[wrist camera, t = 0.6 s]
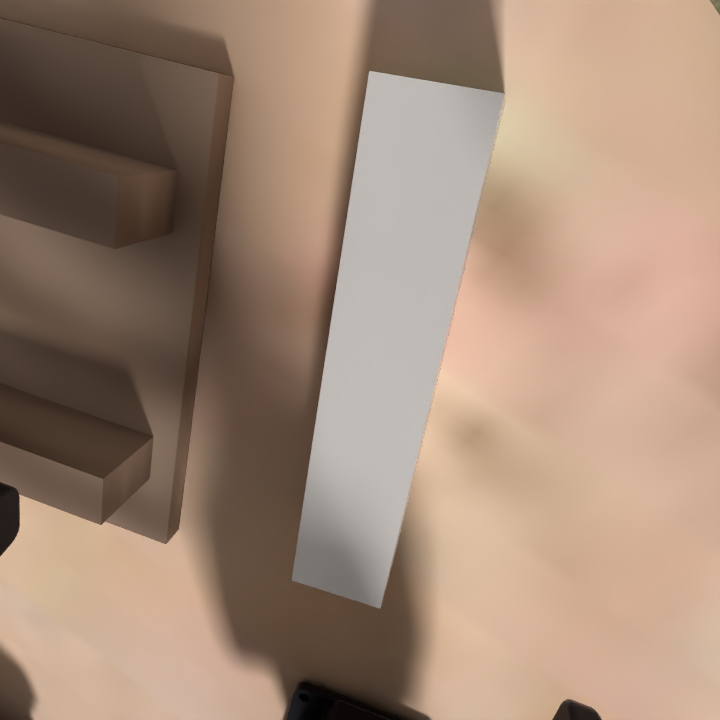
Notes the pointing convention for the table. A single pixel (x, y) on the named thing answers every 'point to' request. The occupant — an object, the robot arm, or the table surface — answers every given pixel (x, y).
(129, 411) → the walnut rack
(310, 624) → the table surface
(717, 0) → the decorative tile
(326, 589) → the light gray rectangular bar
